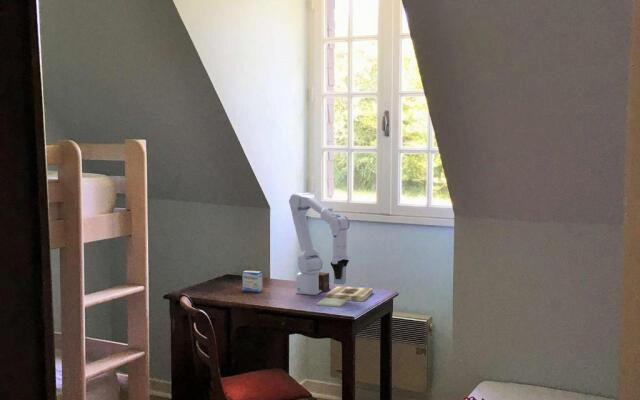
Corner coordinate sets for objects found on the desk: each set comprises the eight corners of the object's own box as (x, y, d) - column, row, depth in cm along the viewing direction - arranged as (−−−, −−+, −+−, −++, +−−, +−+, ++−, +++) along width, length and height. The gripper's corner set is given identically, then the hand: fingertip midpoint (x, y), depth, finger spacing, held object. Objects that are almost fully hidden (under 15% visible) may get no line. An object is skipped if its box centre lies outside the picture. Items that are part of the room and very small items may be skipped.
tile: (316, 305, 289) (316, 303, 289) (324, 299, 299) (324, 297, 299) (340, 307, 286) (340, 305, 286) (347, 301, 296) (347, 299, 296)
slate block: (333, 283, 296) (333, 267, 295) (336, 281, 300) (336, 265, 299) (343, 284, 295) (343, 267, 294) (345, 282, 298) (345, 266, 298)
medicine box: (242, 291, 315) (242, 271, 314) (246, 288, 320) (246, 269, 319) (258, 292, 313) (258, 272, 312) (262, 290, 317) (262, 270, 316)
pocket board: (326, 298, 301) (326, 293, 301) (337, 290, 316) (337, 286, 316) (362, 301, 296) (362, 296, 295) (372, 293, 311) (372, 288, 310)
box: (329, 288, 319) (329, 272, 318) (323, 291, 314) (323, 275, 313) (317, 287, 322) (317, 271, 321) (311, 290, 317) (311, 274, 316)
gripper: (344, 249, 288) (344, 282, 289) (353, 243, 301) (353, 275, 303) (327, 248, 290) (327, 280, 291) (337, 242, 303) (337, 274, 305)
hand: (339, 277), depth 297 cm, fingers closed on slate block, 4 cm apart
